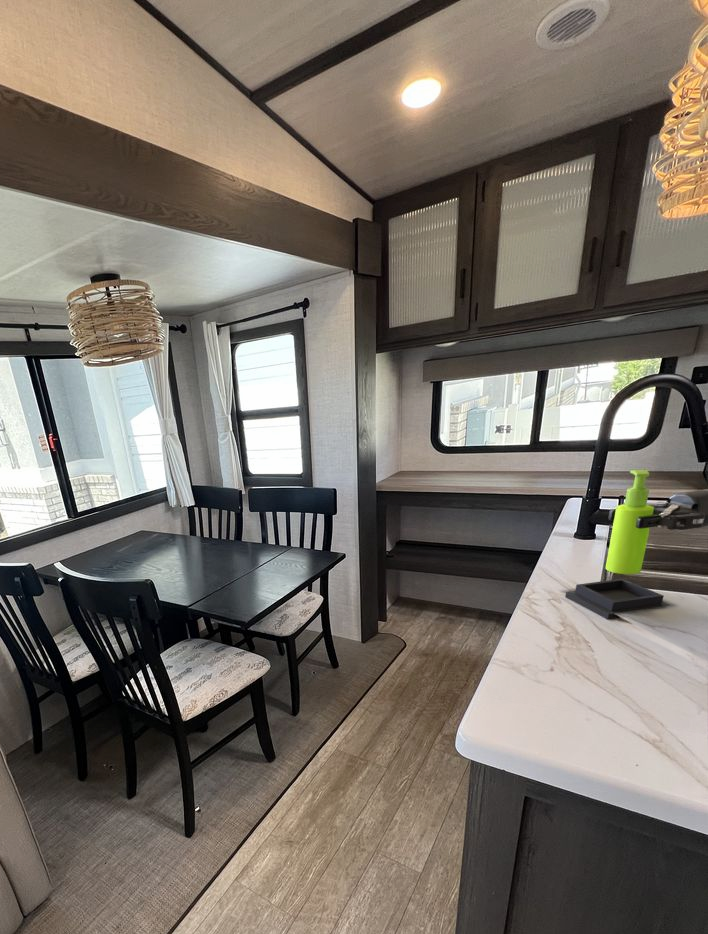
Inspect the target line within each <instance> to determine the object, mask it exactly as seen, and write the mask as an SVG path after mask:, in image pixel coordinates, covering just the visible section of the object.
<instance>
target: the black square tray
mask: <svg viewBox="0 0 708 934" xmlns="http://www.w3.org/2000/svg"><path fill="white" fill-rule="evenodd" d="M564 597H565V598H567V599H569V600H570V601H572V602H574V603H576V604H578V605H580V606H582V607H583V608H585V609H587V610H589V611H592V612H593V613H595V614H597V615H599V616H600V617H603V618H605V619H606V620H612V619H618V618H621V616H620V615H618V614H619V613H624V612H625V613H626V612H632V611H633V612H634V611H639V610H648V609H654V608H661V607H662V608H663V607H668V606H670V604H669V603H667V602H665V601H663V600H664V597H665V596H664V594H661V593H658V592H655V591H654V590H651V589H649V588H647V587H645V586H641V585H639V584H637V583H634V582H632V581H630V580H628V579H625V578H623V577H622V578H616V579H608V580H601V581H593V582H586V583H585V582H584V583H578V584H576V585H575V590H572V591H566V592H565V596H564ZM617 613H618V614H617Z"/></svg>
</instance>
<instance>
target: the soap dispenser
mask: <svg viewBox="0 0 708 934" xmlns="http://www.w3.org/2000/svg"><path fill="white" fill-rule="evenodd" d="M629 473H630V474H632V475H634V480H633V485H632V487H631V486H630V488H627V490H626V495H625V501H624V503H625V504H624V503H622V504H623V505H622V504H619V505H617V506H616V507H615V509H616V511H615V517H614V520H613V523H612V530H611V535H610V540H609V546H608V552H607V557H606V564H605V570H606V571H608V572H610V573H614V574H618V575H636V574H639V573H641V572H642V566H643V563H644V558H645V554H646V549H647V544H648V539H649V534H650V530H651V527H649V528H642V529H639V528H636V522H637V519H638V517H641V516H649V515H653V510H654V507H653V506H650V505H646V504H647V503H648V498H649V493H650V488H648V487H646V486H645V485H646V480H647V477H650V472H649V471H648V470H646V469H632V470H630V471H629Z"/></svg>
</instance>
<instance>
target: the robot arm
mask: <svg viewBox="0 0 708 934" xmlns="http://www.w3.org/2000/svg"><path fill="white" fill-rule="evenodd" d="M623 504H625V502H624V503H621V505H623ZM646 505H650V506H653V507H654V510H653V515H649V516H641V517H638V519H637V522H636V528H639V529H642V528H649V527H650V528H658V529H663V528H666V529H667V530H670V531H674V530H677V531H678V530H679V531H684V530H692V529H699V528H708V488H705V489H697V490H690V491H689V490H688V491H681V492H678V493H675V494H673V495H672V496H670V497H669V498H668V499H667V500H666V501H657V502H647V504H646ZM615 511H616V508H612V509H610V510H609V513H608V518H607V519H608V521H612V522H614V517H615Z"/></svg>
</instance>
